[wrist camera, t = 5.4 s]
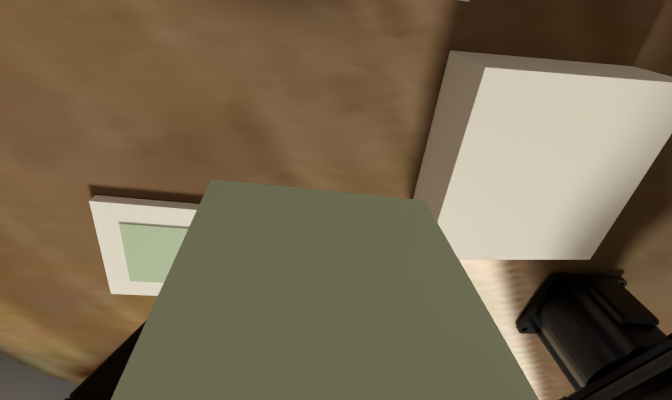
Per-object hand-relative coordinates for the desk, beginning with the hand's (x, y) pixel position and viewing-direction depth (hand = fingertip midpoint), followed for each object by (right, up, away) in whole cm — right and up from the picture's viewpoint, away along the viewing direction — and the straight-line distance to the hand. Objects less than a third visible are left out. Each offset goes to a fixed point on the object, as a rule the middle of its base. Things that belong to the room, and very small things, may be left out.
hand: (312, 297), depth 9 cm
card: (-10, 0, +12) cm, 15 cm away
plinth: (+11, +6, +11) cm, 16 cm away
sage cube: (0, +1, +1) cm, 1 cm away
